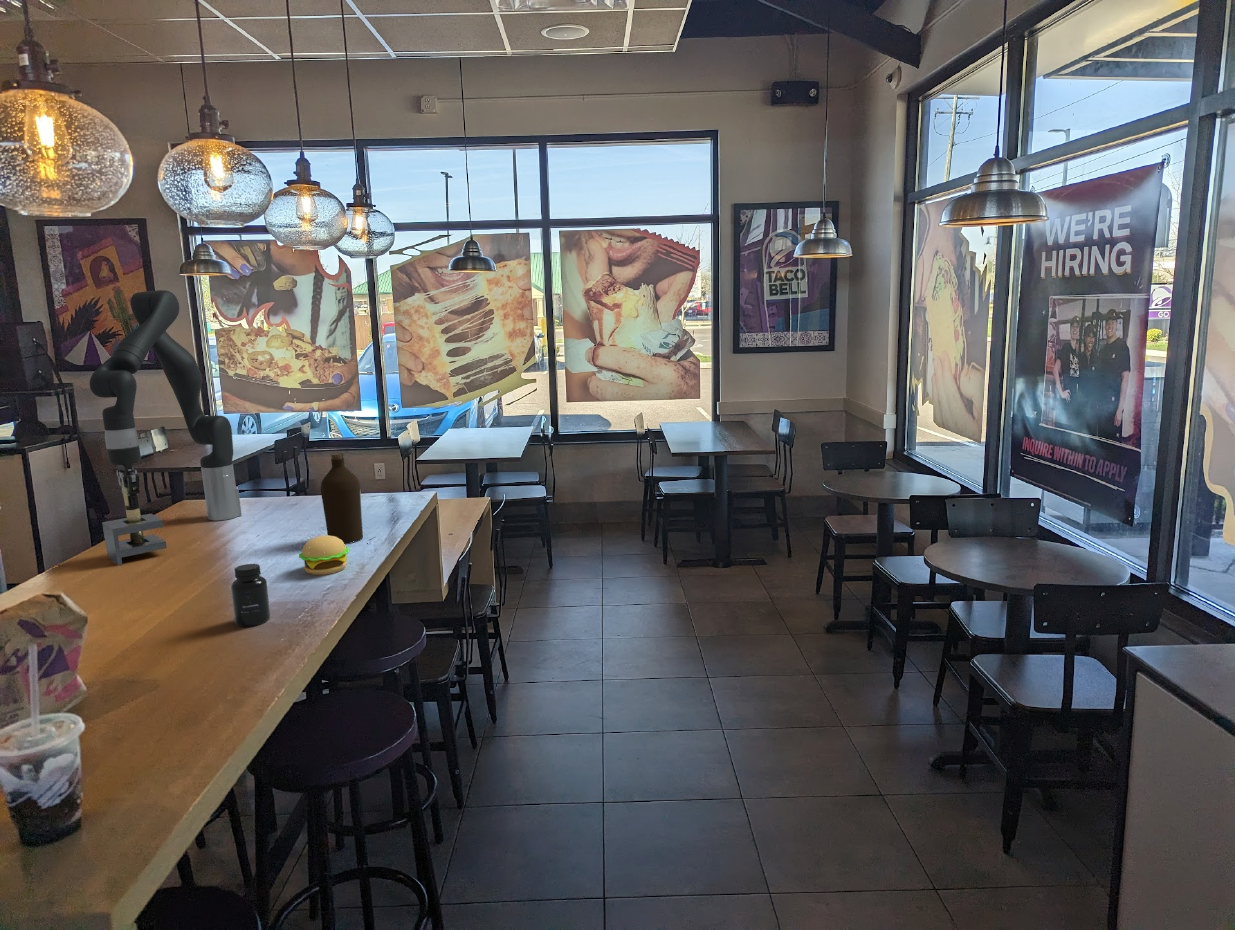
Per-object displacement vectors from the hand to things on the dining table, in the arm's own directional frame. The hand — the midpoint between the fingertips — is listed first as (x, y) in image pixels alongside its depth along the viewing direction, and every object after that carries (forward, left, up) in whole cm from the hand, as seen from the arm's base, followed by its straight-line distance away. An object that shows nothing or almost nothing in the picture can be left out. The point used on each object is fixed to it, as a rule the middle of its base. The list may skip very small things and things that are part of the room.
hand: (132, 507), depth 218 cm
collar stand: (0, 0, -14) cm, 14 cm away
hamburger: (-29, +53, -14) cm, 62 cm away
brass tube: (0, 0, -12) cm, 12 cm away
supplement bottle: (-3, +75, -14) cm, 76 cm away
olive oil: (-45, +31, -14) cm, 56 cm away
